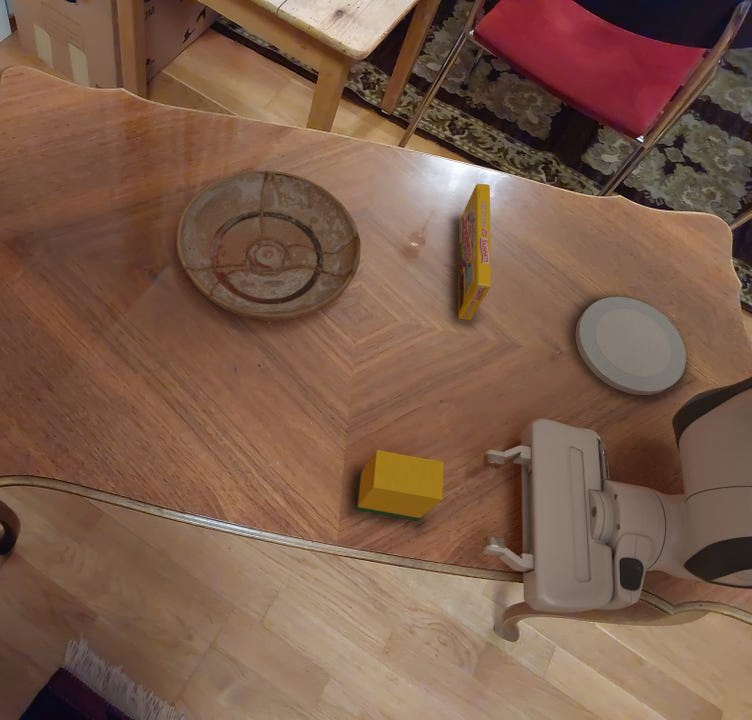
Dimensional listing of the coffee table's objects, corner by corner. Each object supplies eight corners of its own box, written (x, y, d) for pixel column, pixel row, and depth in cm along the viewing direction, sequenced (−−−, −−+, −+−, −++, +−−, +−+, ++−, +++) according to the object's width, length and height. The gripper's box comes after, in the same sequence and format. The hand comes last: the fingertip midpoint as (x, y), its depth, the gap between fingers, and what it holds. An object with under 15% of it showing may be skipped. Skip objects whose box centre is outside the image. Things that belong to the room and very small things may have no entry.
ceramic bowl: (326, 360, 81) (333, 341, 77) (150, 302, 83) (147, 280, 79) (372, 222, 92) (380, 198, 87) (214, 173, 94) (214, 147, 89)
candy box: (455, 222, 93) (476, 181, 86) (470, 224, 93) (492, 184, 86) (454, 318, 86) (477, 283, 78) (471, 321, 86) (495, 286, 78)
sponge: (358, 474, 75) (376, 449, 67) (419, 485, 75) (444, 461, 67) (355, 509, 73) (372, 487, 65) (417, 521, 73) (443, 500, 65)
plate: (700, 352, 86) (706, 348, 85) (643, 416, 81) (649, 412, 80) (613, 283, 90) (618, 278, 89) (554, 340, 85) (558, 335, 84)
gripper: (620, 422, 71) (496, 400, 71) (639, 620, 62) (495, 594, 62) (591, 442, 77) (475, 421, 77) (603, 626, 68) (472, 602, 68)
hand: (484, 499), depth 70 cm, fingers open, 8 cm apart
